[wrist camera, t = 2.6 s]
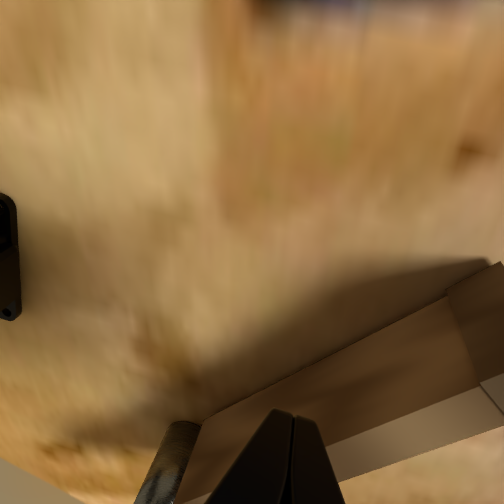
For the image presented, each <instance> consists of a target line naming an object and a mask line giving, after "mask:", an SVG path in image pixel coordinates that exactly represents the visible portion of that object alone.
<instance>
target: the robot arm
mask: <svg viewBox="0 0 504 504" xmlns="http://www.w3.org/2000/svg"><path fill="white" fill-rule="evenodd" d="M0 204H1V205H2V206H3V208H4V210H3V209H2V208H1V206H0V318H1V319H4V320H8V321H13V320H15V319H16V318H17V317H18V316H19V315H20V314H21V312H22V304H21V282H20V263H19V248H18V229H17V211H16V205H15V203H14V201H13V200H12V199H11V198H10V197H9V196H7V195H5V194H1V193H0ZM204 504H345V501H344V498H343V496H342V493H341V490H340V487H339V484H338V482H337V479H336V476H335V473H334V470H333V468H332V465H331V462H330V459H329V456H328V454H327V451H326V448H325V445H324V442H323V440H322V437H321V434H320V431H319V428H318V426H317V423H316V422H315V421H314V420H312V419H309V418H306V417H303V416H300V415H294V416H293V415H292V413H290V412H288V411H285V410H282V409H278V408H275V407H274V408H272V409H270V411H269V412H268V414H267V415H266V416H265V418H264V419H263V421H262V422H261V423H260V425H259V426H258V428H257V429H256V431H255V432H254V433H253V435H252V436H251V438H250V439H249V440H248V442H247V443H246V445H245V446H244V447H243V449H242V450H241V452H240V453H239V455H238V456H237V457H236V459H235V460H234V462H233V463H232V464H231V466H230V467H229V469H228V470H227V471H226V473H225V474H224V476H223V477H222V478H221V480H220V481H219V483H218V484H217V486H216V487H215V488H214V490H213V491H212V493H211V494H210V495H209V497H208V498H207V500H206V501H205V502H204Z"/></svg>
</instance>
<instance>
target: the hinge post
mask: <svg viewBox="0 0 504 504" xmlns="http://www.w3.org/2000/svg"><path fill="white" fill-rule="evenodd" d="M200 430H201V427H199V426H198V425H195V424H193V423H190V422H184V421H180V422H175V423H173V424H171V425H170V426H169V427H168V429H167V432H166V434H165V436H164V438H163V440H162V442H161V445H160V447H159V449H158V451H157V453H156V456H155V458H154V460H153V462H152V464H151V467H150V469H149V471H148V473H147V475H146V478H145V480H144V482H143V484H142V486H141V489H140V491H139V493H138V495H137V497H136V500H135V502H134V504H173V502H174V500H175V497H176V494H177V492H178V489H179V486H180V484H181V481H182V478H183V476H184V473H185V470H186V467H187V465H188V462H189V459H190V457H191V454H192V451H193V449H194V446H195V443H196V441H197V438H198V435H199V433H200Z"/></svg>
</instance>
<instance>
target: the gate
mask: <svg viewBox="0 0 504 504" xmlns="http://www.w3.org/2000/svg"><path fill="white" fill-rule="evenodd" d="M446 291H447V294H448V296H446V297H444V298H442V299H440V300H438V301H436V302H434V303H432V304H430V305H428V306H426V307H424V308H422V309H420V310H419V311H417V312H415V313H413V314H411V315H409V316H407V317H405V318H403V319H401V320H399V321H397V322H395V323H393V324H391V325H389V326H387V327H385V328H383V329H381V330H379V331H377V332H375V333H373V334H371V335H369V336H368V337H366V338H364V339H362V340H360V341H358V342H356V343H354V344H352V345H350V346H348V347H346V348H344V349H342V350H340V351H338V352H336V353H334V354H332V355H330V356H328V357H326V358H324V359H322V360H320V361H319V362H317V363H315V364H313V365H311V366H309V367H307V368H305V369H303V370H301V371H299V372H297V373H295V374H293V375H291V376H289V377H287V378H285V379H283V380H281V381H279V382H277V383H275V384H273V385H271V386H269V387H268V388H266V389H264V390H262V391H260V392H258V393H256V394H254V395H252V396H250V397H248V398H246V399H244V400H242V401H240V402H238V403H236V404H234V405H232V406H230V407H228V408H226V409H224V410H222V411H220V412H218V413H217V414H215V415H213V416H211V417H209V418H207V419H205V420H204V422H203V425H202V427H201V430H200V433H199V435H198V438H197V441H196V443H195V446H194V449H193V451H192V454H191V457H190V459H189V462H188V465H187V467H186V470H185V473H184V476H183V478H182V481H181V484H180V486H179V489H178V492H177V494H176V497H175V500H174V502H173V504H204V502H205V501H206V500H207V498H208V497H209V495H210V494H211V493H212V491H213V490H214V488H215V487H216V486H217V484H218V483H219V481H220V480H221V478H222V477H223V476H224V474H225V473H226V471H227V470H228V469H229V467H230V466H231V464H232V463H233V462H234V460H235V459H236V457H237V456H238V455H239V453H240V452H241V450H242V449H243V447H244V446H245V445H246V443H247V442H248V440H249V439H250V438H251V436H252V435H253V433H254V432H255V431H256V429H257V428H258V426H259V425H260V423H261V422H262V421H263V419H264V418H265V416H266V415H267V414H268V412H269V411H270V409H272V408H274V407H275V408H278V409H282V410H285V411H288V412H290V413H292V415H293V416H294V415H300V416H303V417H306V418H309V419H312V420H314V421H315V422H316V423H317V426H318V428H319V431H320V434H321V437H322V440H323V442H324V445H325V448H326V451H327V454H328V456H329V459H330V462H331V465H332V468H333V470H334V473H335V476H336V479H337V482H341V481H344V480H347V479H350V478H353V477H356V476H359V475H362V474H365V473H367V472H370V471H373V470H376V469H379V468H382V467H385V466H388V465H391V464H394V463H396V462H399V461H402V460H405V459H408V458H411V457H414V456H417V455H420V454H423V453H425V452H428V451H431V450H434V449H437V448H440V447H443V446H446V445H449V444H452V443H454V442H457V441H460V440H463V439H466V438H469V437H472V436H475V435H478V434H481V433H483V432H486V431H489V430H492V429H495V428H498V427H501V426H504V266H503V264H502V263H501V261H500V262H498V263H496V264H494V265H492V266H490V267H488V268H486V269H484V270H482V271H480V272H478V273H476V274H475V275H473V276H471V277H469V278H467V279H465V280H463V281H461V282H459V283H457V284H455V285H453V286H451V287H449V288H448V289H446Z"/></svg>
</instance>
